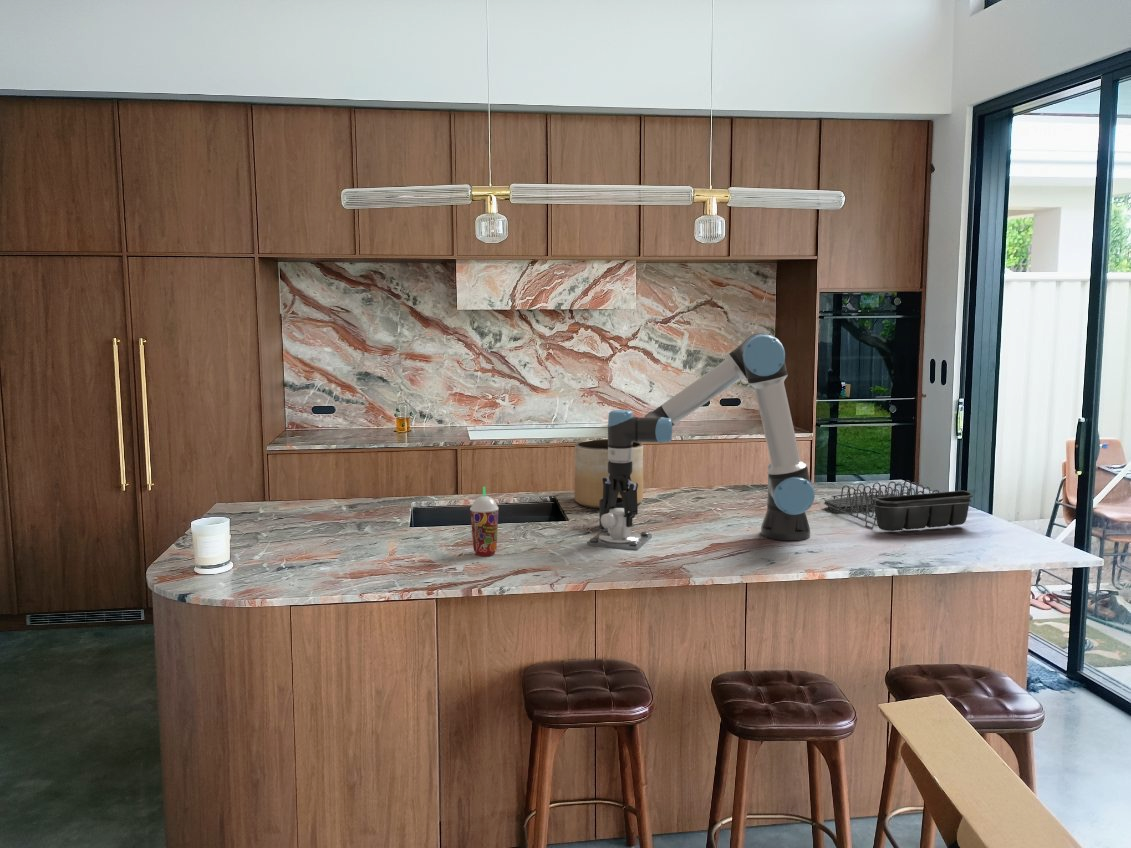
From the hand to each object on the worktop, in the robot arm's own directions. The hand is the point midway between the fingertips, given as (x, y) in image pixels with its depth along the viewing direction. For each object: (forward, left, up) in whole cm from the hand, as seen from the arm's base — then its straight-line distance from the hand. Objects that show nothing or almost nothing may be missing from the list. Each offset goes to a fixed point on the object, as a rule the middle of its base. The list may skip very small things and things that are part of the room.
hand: (619, 534), depth 274 cm
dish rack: (-78, -61, -3) cm, 99 cm away
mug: (+6, -17, -2) cm, 18 cm away
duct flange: (0, 0, -2) cm, 2 cm away
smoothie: (+33, +27, -2) cm, 43 cm away
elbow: (+1, +1, 0) cm, 1 cm away
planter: (+20, -51, -2) cm, 55 cm away
